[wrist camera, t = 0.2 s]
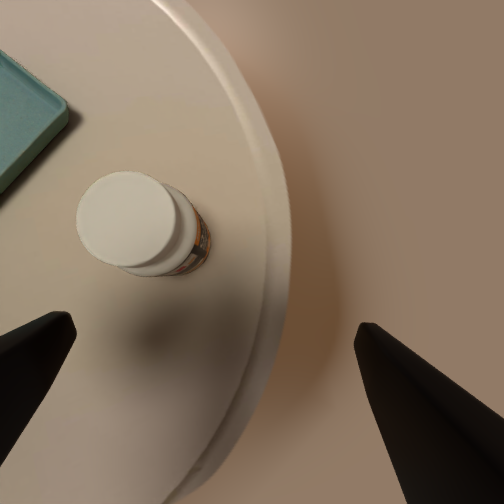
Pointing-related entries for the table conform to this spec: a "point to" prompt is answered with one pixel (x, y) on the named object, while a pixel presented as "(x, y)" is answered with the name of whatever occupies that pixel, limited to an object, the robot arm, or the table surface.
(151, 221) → the white rounded container
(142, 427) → the table surface
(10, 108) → the rectangular tray
